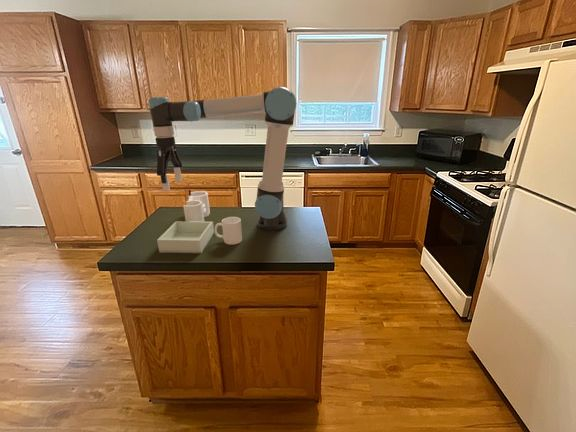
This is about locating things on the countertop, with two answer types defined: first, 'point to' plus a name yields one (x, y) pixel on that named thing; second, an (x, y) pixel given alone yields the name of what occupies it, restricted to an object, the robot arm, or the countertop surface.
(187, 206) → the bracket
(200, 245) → the tub
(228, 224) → the cup
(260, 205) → the robot arm
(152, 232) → the countertop surface
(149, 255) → the countertop surface
